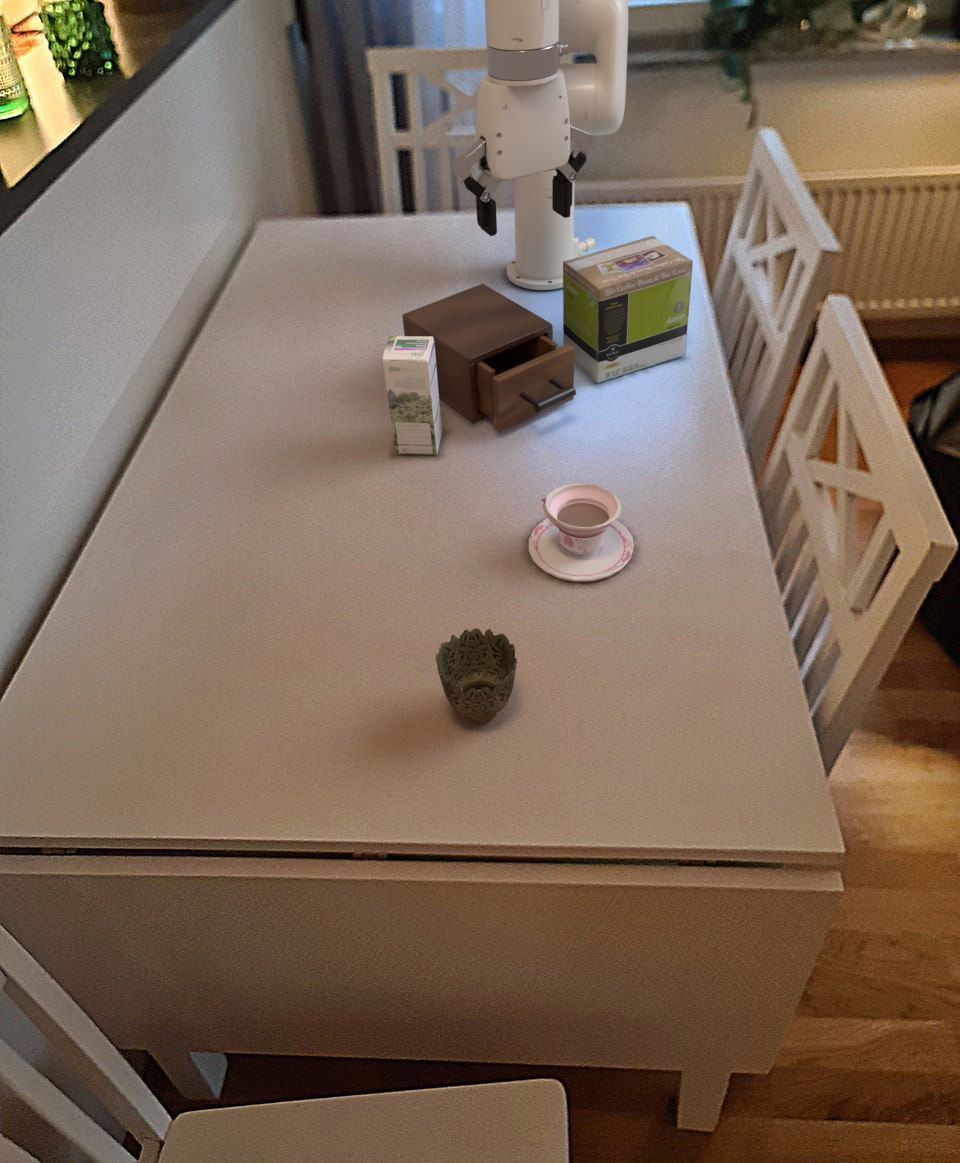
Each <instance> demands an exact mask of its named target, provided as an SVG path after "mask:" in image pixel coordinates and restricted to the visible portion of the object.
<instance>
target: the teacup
mask: <svg viewBox="0 0 960 1163" xmlns="http://www.w3.org/2000/svg"><path fill="white" fill-rule="evenodd" d="M541 502H542V509H543V512H544V515H545V516H546V518H545V519H543V520H542V521H541V522H539V524H537V525H536V526H535V527H534V528H533V529H532V531H531V534H530V535H529V538H528V554H529V556H530V557H531V559H532V561H533V563H534V564H535V566H537V567H538V568H539V569H541V570H542V571H543V572H544V573H546V574H548V575H550V576H552V577H554V578H557V579H559V580H564V581H569V582H575V583H580V582H581V583H583V582H596V581H600V580H603V579H607V578H610V577H611V576H614V575H615V574H617V573H619V572H621V571H623V569H624V568H625V567H627V565H628V564H629V563H630V562H631V560H632V556H633V553H634V551H635V546H634V539H633V535H632V534H631V533H630V531H629V529H628V528H627V527H626V526H625V525H624V524H622V523H621V522H620V521H619V520H617V519H618V518H619V517H620V515H621V513H622V509H623V508H622V502H621V501H620V499H619V498H618V496H617V495H616V494H614V492H612V491H610V490H609V489H607V488H605V487H603V486H600V485H597V484H592V483H583V482H577V483H576V482H575V483H567V484H564V485H560V486H559V487H557V488H555V489H554V488H553V490H552V491H550V492H549V493H548V494H547V496H546V497H545V498H541Z"/></svg>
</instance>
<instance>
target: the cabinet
mask: <svg viewBox="0 0 960 1163" xmlns="http://www.w3.org/2000/svg"><path fill="white" fill-rule="evenodd" d="M401 316H402V325H403V334H404V335H403V336H433V338H434V345H435V355H436V368H437V381H438V392H439V401H442V402H443V403H444V404H446V405H447V406H448V407H450V408H451V409H452V410H453V411H455V412H457V414H459V415H460V416H462V417H463V418H465V419H466V420H467V421H468V422H470V424H476V423H478V422H480V421H483V420H484V419H488V417H487V416H486V415H485V414H483V413H482V412H481V411H479V410H478V409H477V394H476V378H475V364H474V363H476V362H479V361H481V360H484V359H486V358H488V357H491V356H493V355H495V354H498V353H500V352H502V351H505V350H507V349H509V348H512V347H514V346H516V345H519V344H521V343H523V342H526V341H528V340H530V339H533V338H535V337H537V336H540V335H544V336H545V337H547V338H549V339H550V340H552V341H554V340H553V339H554V334H553V333H554V331H553V330H554V329H553V328H554V327H553V326H554V325H553V323H551V322H550V321H548V320H546V319H544V318H543V317H541V316H539V315H537V314H536V313H534V312H533V311H531V310H529V309H527V308H526V307H525V306H522V305H520V304H519V303H517V302H515V301H513V300H512V299H510V298H508V297H507V296H505V295H503V294H502V293H500V292H499V291H496V290H495V289H493V288H491V287H490V286H488V285H486V284H485V283H480V284H478V285H475V286H472V287H470V288H466V289H464V290H462V291H460V292H457V293H454V294H451V295H449V296H447V297H444V298H441V299H439V300H436V301H434V302H431V303H428V304H426V305H423V306H420V307H418V308H416V309H412V310H410V311H407V312H405V313H403V314H401Z"/></svg>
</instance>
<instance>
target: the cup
mask: <svg viewBox="0 0 960 1163" xmlns="http://www.w3.org/2000/svg"><path fill="white" fill-rule="evenodd" d="M435 661H436V666H437V672H438V676H439V679H440V683H441V686H442V688H443V689H442V690H443V692H444V695H445V697H446V699H447V701H448V703H449V705H450V706H451V707H452V708H453V709H454V710H455V711H456V712H457V713H459V714H461V715H462V716H463V717H465V719H467V720H468V721H469V722H471V723H475V724H485V723H488V722H490V721H492V720H493V719H494V718H495V717H496V716H497V714H498V713H499V712H501V711H502V710H503V709H504V708H505V707H506V705H507V704H508V702H509V701H510V698H511V696H512V694H513V690H514V684H515V677H516V671H517V664H518V659H517V657H516V647H515V645H514V643H510V640H509V638H508V637H507V636H506V635H505V634H504V633H498V634H496V635H494V632H493V631H492V629H490V628H487V629H486V630H485V632H484V633H483V632H482V630H481V629H480V628H477V627H475V628H473V629H471V630H468V629H467V628H465V629H464V630H463V631H462V633H461V634H460V635H459V638H458V637H457V635H455V634H452V635H451V637H450V641H444V642H441V643H440V645H439V649H438V651H437V653H436V654H435Z"/></svg>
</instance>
